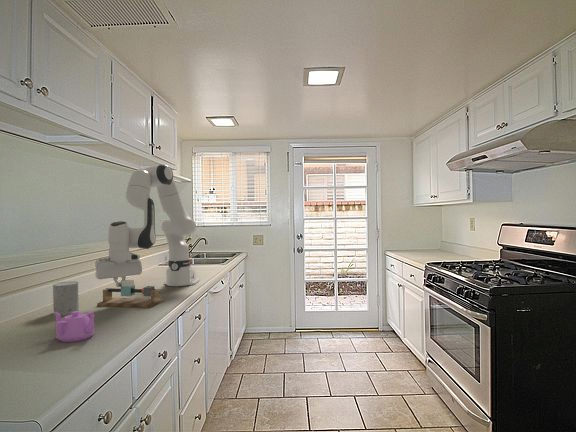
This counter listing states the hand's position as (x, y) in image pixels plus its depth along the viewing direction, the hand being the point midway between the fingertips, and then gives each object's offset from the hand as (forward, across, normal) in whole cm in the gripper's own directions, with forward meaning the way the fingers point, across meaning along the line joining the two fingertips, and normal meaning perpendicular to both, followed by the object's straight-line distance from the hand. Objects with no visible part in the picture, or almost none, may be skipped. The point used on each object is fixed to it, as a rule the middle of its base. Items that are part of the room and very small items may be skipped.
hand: (119, 286), depth 184 cm
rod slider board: (+8, +3, -5) cm, 10 cm away
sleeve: (+4, +2, -3) cm, 6 cm away
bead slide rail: (+4, +3, -5) cm, 7 cm away
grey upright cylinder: (+8, -22, 0) cm, 24 cm away
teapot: (+8, -30, -40) cm, 51 cm away
